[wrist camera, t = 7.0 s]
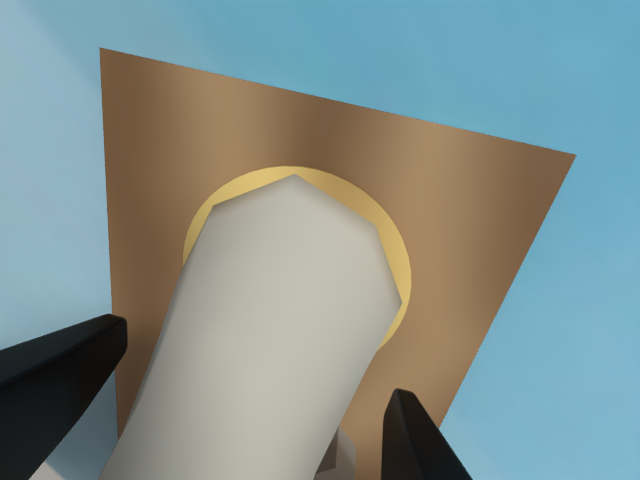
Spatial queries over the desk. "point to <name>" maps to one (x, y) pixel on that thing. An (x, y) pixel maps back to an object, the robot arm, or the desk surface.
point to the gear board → (343, 185)
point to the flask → (261, 341)
